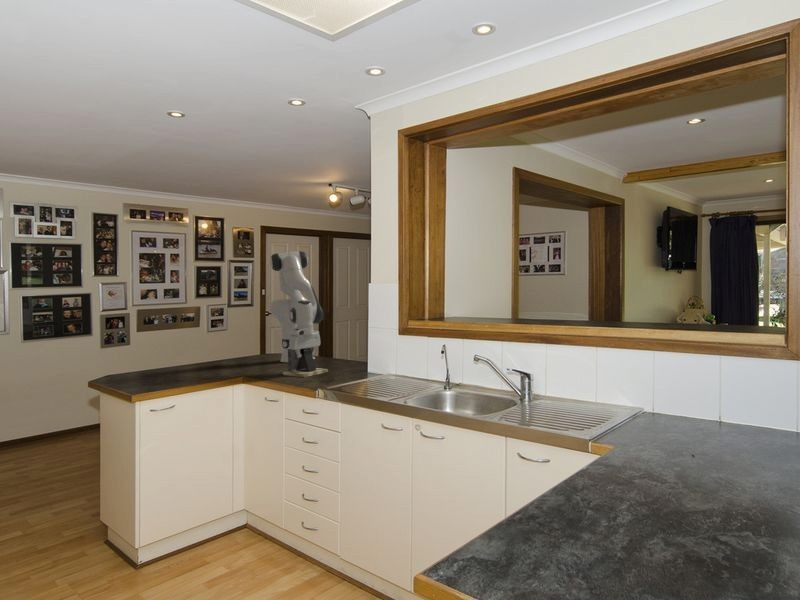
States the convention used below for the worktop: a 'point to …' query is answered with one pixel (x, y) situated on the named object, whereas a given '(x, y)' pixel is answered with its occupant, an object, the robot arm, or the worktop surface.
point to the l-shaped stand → (293, 366)
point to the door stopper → (306, 361)
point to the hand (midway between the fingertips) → (305, 356)
